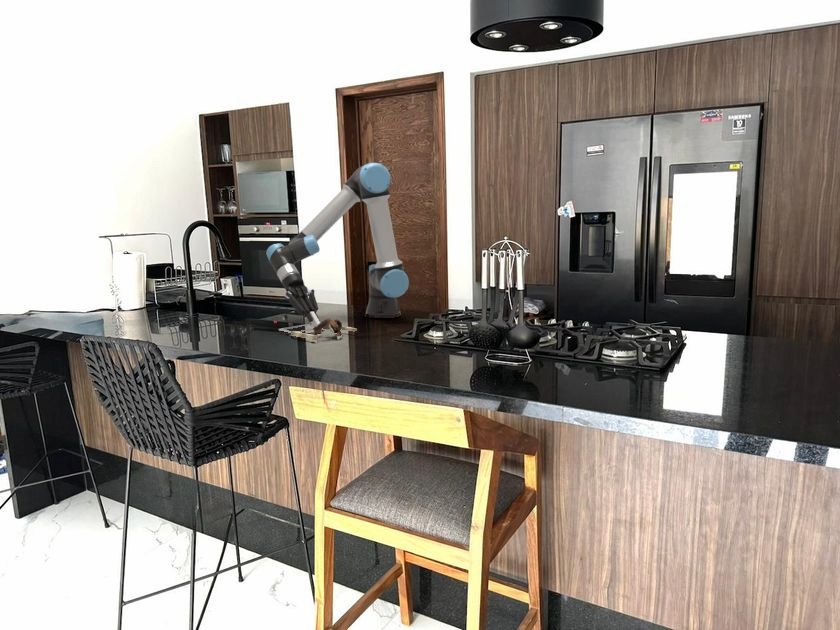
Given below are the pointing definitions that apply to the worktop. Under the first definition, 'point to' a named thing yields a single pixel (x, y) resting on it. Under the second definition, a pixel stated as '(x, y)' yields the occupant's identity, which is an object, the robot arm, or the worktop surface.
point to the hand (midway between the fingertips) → (318, 327)
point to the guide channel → (314, 337)
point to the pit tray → (294, 327)
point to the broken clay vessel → (335, 326)
